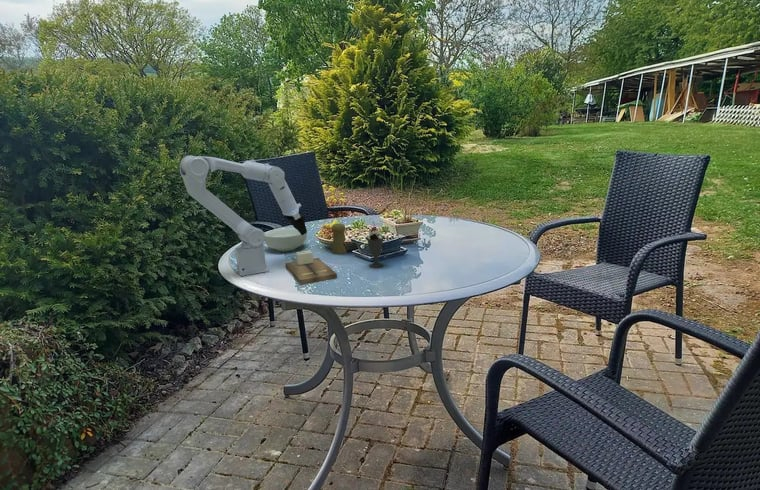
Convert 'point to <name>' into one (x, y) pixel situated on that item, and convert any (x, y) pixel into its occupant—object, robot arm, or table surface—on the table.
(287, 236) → the cereal bowl
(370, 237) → the sundae
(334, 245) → the olive brown pepper mill
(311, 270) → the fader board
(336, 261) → the table surface
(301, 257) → the cream block
